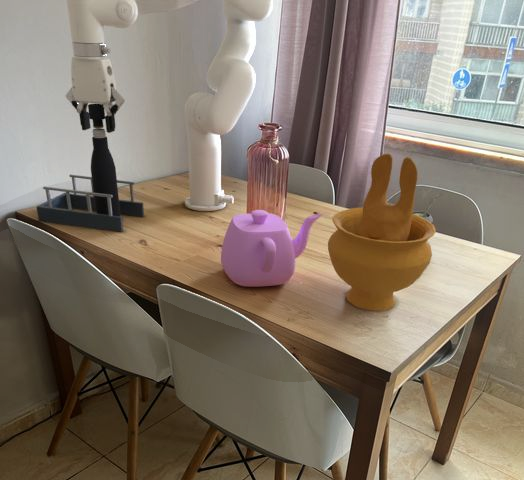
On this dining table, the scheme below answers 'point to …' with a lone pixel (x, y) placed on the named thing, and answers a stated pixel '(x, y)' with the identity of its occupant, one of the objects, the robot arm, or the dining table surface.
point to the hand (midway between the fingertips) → (98, 129)
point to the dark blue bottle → (102, 164)
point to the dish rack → (86, 208)
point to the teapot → (262, 248)
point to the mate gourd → (425, 214)
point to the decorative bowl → (381, 240)
